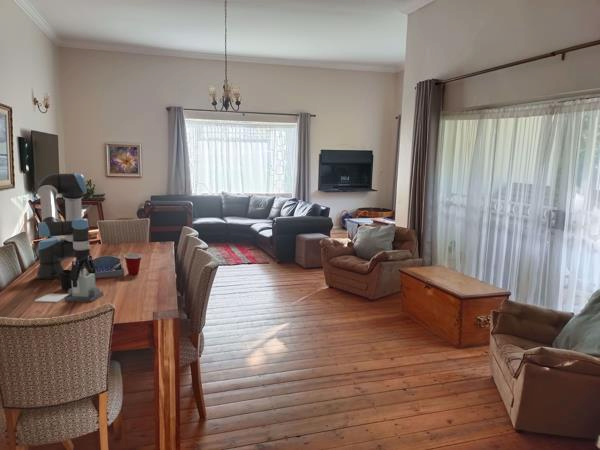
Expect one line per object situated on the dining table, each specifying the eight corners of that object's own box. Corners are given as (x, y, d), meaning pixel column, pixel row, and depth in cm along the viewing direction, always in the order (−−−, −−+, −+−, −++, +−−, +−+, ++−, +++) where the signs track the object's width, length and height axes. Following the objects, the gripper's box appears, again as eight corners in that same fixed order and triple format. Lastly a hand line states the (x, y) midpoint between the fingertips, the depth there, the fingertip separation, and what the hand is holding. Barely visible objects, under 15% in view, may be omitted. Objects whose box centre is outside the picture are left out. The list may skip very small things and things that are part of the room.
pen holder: (67, 291, 238) (65, 273, 236) (57, 289, 243) (56, 271, 241) (83, 287, 246) (82, 270, 244) (73, 285, 251) (72, 268, 249)
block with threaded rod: (64, 300, 223) (62, 270, 220) (78, 293, 235) (76, 264, 232) (90, 301, 222) (89, 271, 219) (103, 294, 233) (101, 265, 231)
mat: (34, 301, 221) (34, 300, 221) (49, 294, 233) (49, 293, 233) (57, 302, 220) (57, 301, 220) (71, 295, 232) (71, 294, 232)
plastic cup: (136, 276, 271) (136, 257, 269) (121, 275, 273) (120, 256, 271) (146, 272, 281) (145, 253, 280) (131, 271, 283) (130, 253, 282)
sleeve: (72, 296, 224) (71, 277, 223) (81, 291, 232) (80, 273, 231) (87, 296, 224) (86, 277, 222) (95, 292, 231) (94, 273, 230)
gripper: (74, 253, 212) (77, 296, 215) (101, 244, 236) (103, 283, 239) (59, 253, 212) (62, 296, 216) (88, 244, 237) (90, 282, 240)
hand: (83, 289), depth 227 cm, fingers open, 12 cm apart
